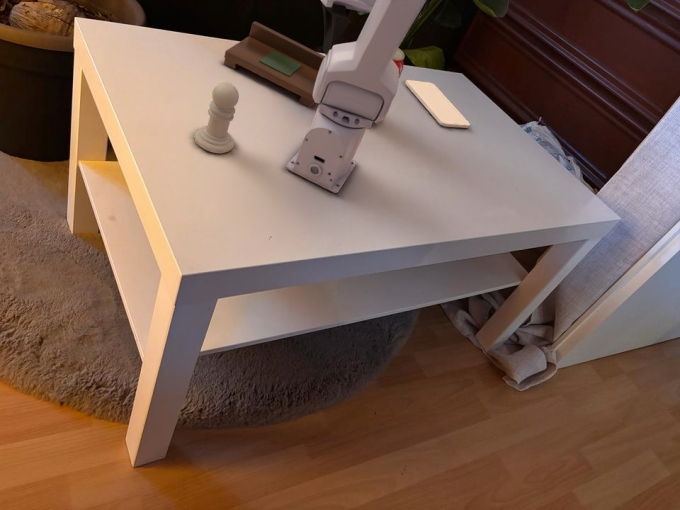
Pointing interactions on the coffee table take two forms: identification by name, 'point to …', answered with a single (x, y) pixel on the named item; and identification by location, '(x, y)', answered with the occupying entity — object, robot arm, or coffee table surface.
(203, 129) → the chess piece
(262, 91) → the coffee table surface
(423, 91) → the smartphone
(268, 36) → the shelf
